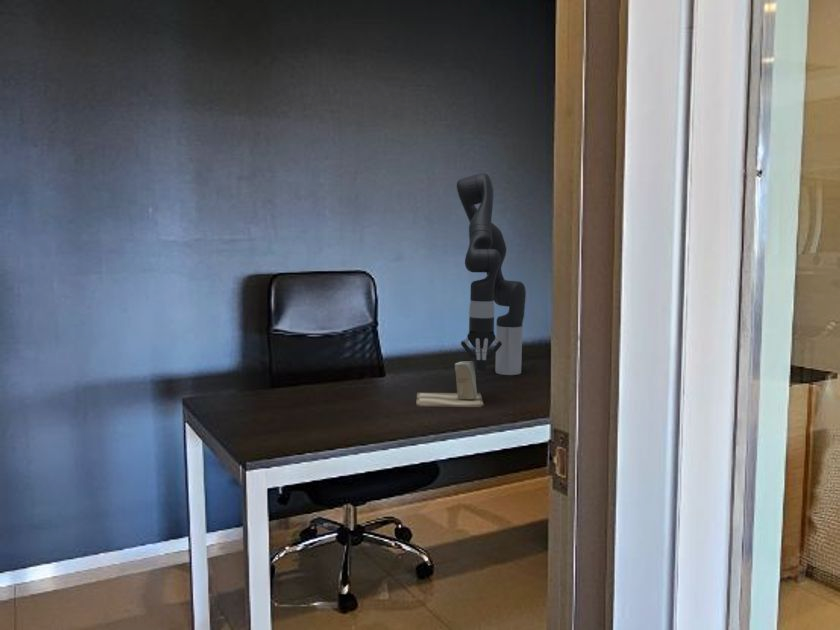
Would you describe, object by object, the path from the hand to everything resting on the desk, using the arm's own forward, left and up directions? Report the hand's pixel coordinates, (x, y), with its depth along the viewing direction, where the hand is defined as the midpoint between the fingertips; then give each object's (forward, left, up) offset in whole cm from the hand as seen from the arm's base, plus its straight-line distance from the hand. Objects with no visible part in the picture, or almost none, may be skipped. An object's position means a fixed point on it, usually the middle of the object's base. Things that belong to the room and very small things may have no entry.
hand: (480, 371), depth 224 cm
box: (0, -4, -9) cm, 9 cm away
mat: (0, -9, -9) cm, 13 cm away
